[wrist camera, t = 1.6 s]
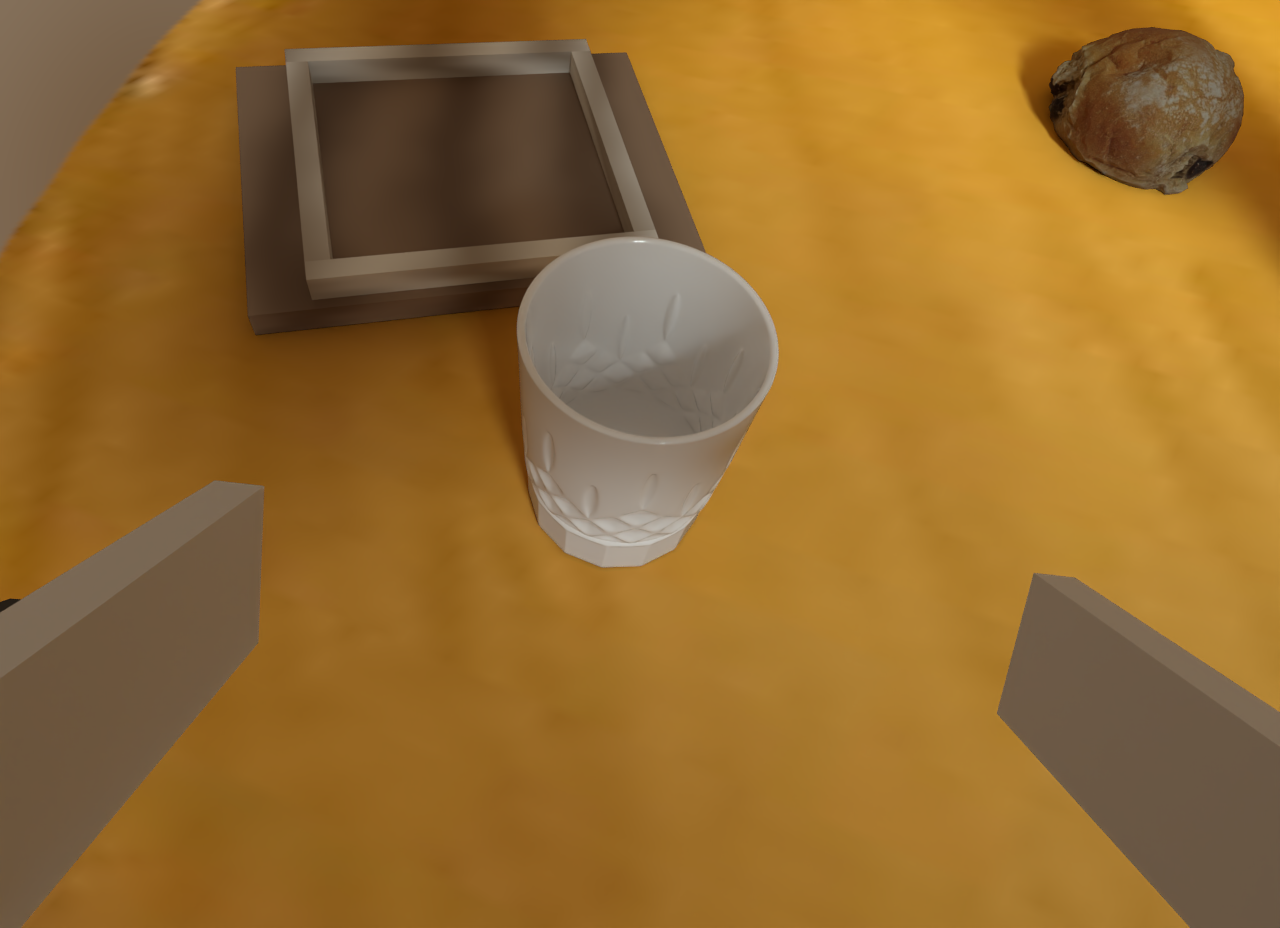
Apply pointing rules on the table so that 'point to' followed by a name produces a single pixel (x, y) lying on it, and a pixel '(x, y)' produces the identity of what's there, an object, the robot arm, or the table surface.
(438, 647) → the table surface
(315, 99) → the keeper board
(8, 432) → the table surface
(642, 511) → the white cup
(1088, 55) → the bread roll
